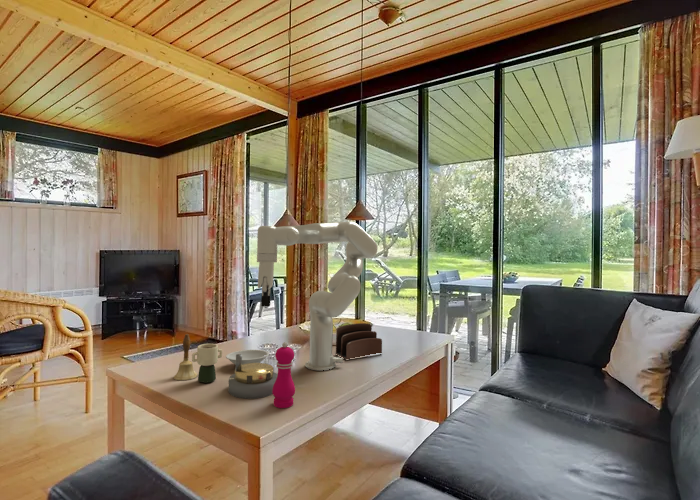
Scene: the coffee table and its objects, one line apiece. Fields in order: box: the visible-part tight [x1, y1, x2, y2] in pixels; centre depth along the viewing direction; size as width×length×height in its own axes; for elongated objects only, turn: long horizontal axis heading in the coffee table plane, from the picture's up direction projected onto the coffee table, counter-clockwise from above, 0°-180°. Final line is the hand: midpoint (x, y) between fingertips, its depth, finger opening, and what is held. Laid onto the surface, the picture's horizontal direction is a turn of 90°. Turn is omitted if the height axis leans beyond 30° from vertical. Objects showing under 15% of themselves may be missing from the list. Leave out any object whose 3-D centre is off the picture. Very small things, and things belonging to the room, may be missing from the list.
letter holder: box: [335, 322, 383, 359], centre depth 183 cm, size 10×20×14 cm, turn 122°
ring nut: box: [234, 354, 274, 384], centre depth 137 cm, size 13×13×8 cm
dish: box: [225, 349, 270, 365], centre depth 161 cm, size 18×14×5 cm
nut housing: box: [228, 371, 278, 400], centre depth 137 cm, size 17×17×4 cm
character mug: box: [191, 343, 223, 383], centre depth 143 cm, size 11×7×13 cm, turn 128°
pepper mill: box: [272, 341, 296, 409], centre depth 125 cm, size 7×7×20 cm
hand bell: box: [173, 333, 198, 381], centre depth 147 cm, size 8×8×16 cm
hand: (265, 306), depth 150 cm, fingers closed
